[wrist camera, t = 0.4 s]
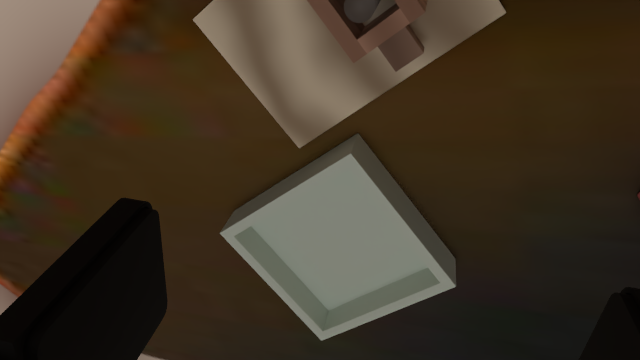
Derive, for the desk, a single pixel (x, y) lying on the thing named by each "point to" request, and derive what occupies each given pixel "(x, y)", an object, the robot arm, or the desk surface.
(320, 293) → the tray
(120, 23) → the desk surface
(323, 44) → the stake board
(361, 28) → the tabbed ring
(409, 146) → the desk surface
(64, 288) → the robot arm
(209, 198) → the desk surface
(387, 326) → the desk surface
